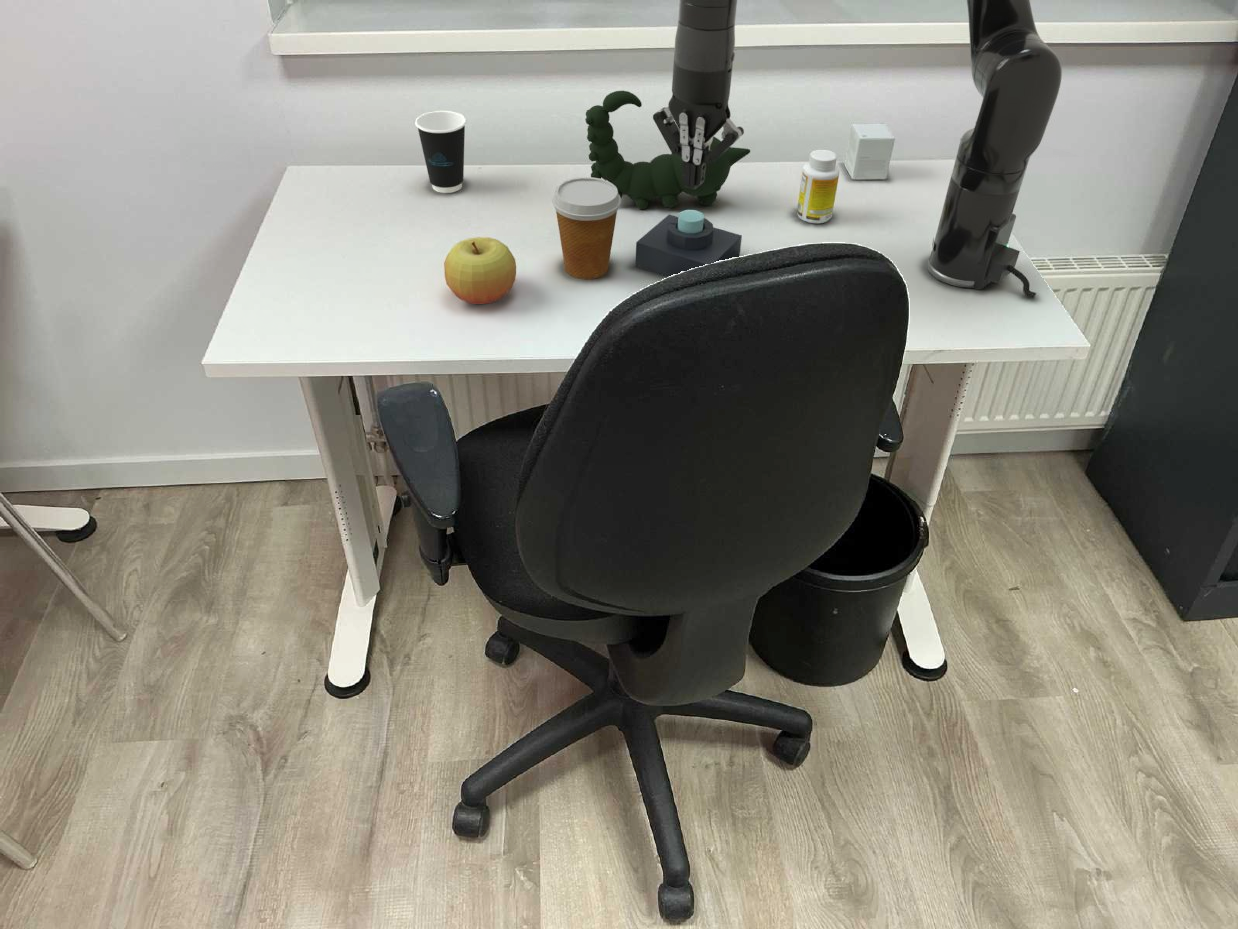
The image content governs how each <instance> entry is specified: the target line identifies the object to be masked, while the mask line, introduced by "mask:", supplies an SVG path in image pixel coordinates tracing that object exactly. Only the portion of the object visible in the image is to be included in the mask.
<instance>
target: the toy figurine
mask: <svg viewBox="0 0 1238 929" xmlns="http://www.w3.org/2000/svg"><path fill="white" fill-rule="evenodd" d="M642 103H643V102H642V101H641V99H640V98H639V97H638V96H637V95H635V94H634V93H632V92H631V91H628V90H615V91H613V92H610V93H608V94H607V95H606V96H605V97H604V99H603V101H602V105H600V104H599V105H598V104H597V105H596V104H595V105H593V106H592V107H590V108H589V109H587V110H586V112H585V123H586V125H587V130H586V131H587V135H586V139H587V141H588V142H590V144H589V145H588V148H589V151H590V153H589V154H588V159H589V161H591V162H593V163H592V164H591V166H590V169H591V173H590V177H593V178H599V179H603V180H606V181H609V182H610V183H612V184H613V185H615V186H616V188H617V190H618V194H619V195H620V197H621V200H622V199H623V196H628V197H629V198H630V199H632V200H634V201H635V206H636V208H638V209H640V210H646V209H647V207H648V206H649V201H652V200H654V199H656V198H658V199H661V204H662V205H663V206H664V207H665V208H668V209H669V208H670V209H672V208H673V207H675V206H677V204H678V198H679V196H680V195H681V194H682V193H684V194H686V195H689V196H693V197H697V200H698V202H699V203H701V204H702V205H703V206H711V205H713V204H714V203H715V202H716V201H717V197H718V192H719V191H721V189H722V187H723V185H724V184H725V182H726V181H727V179H728V178H729V174H730V171H731V167H732V166H734V164H736V163H738V162H739V161H740V160H742V159H744V158H745V157H746V156H748V155H749V154H750V153H751V149H749V148H746V147H745V148H744V147H733V146H730V147H729V148H728V149H727V150H726V151H725V152H724V153H723V154H722V155H721V156H720V157H719V158H717V159H716V160H715V161H714V162H713V163H711V164H708V163H706V171H705V180H704V182H703V183H702V184H701V185H700V186H698V187H697V188H696V189H691V188H687V187H685V182H683V181H682V169H683V160H682V157H681V156H679V155H678V154H673V153H672V152H671V153H662V154H659V155H657V156H655V157H654V158H652V160H650V162H649V161H644V160H643V161H637V162H633V163H632V162H631V161H628V160H625V159H624V156H623V155H622V154H621V153H620V152H619V145H618V143H617V141H616V140H615V138H614V133H615V132H614V128H613V125H612V124H611V123H610V113H613V112H615V111H617V110H619V109H621V107H623V106H626V105H634V106H636V107H638V108H641V107H642V106H643V104H642ZM721 141H722V140H720V139H719V138H717V136H715V135H714V136H713V141H712V143H711V145H710V150H713V149H714V148H715V147H716V146H717V145H718V144H719V143H720V142H721Z"/></svg>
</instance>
